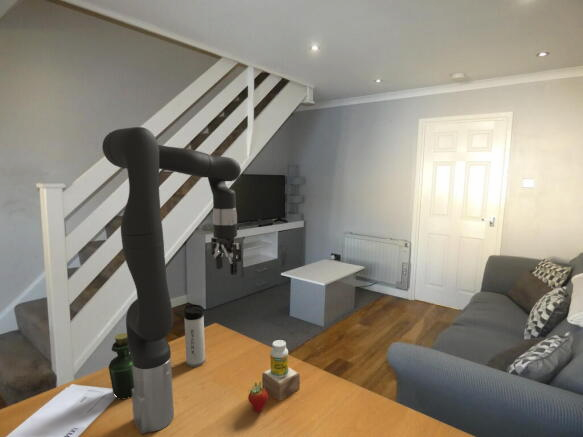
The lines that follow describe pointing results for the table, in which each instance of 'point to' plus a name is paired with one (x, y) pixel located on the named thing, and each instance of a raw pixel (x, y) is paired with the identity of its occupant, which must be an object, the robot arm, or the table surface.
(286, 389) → the wooden block
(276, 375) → the supplement bottle
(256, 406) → the fruit
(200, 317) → the travel mug
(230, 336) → the table surface
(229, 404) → the table surface
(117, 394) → the potion bottle
